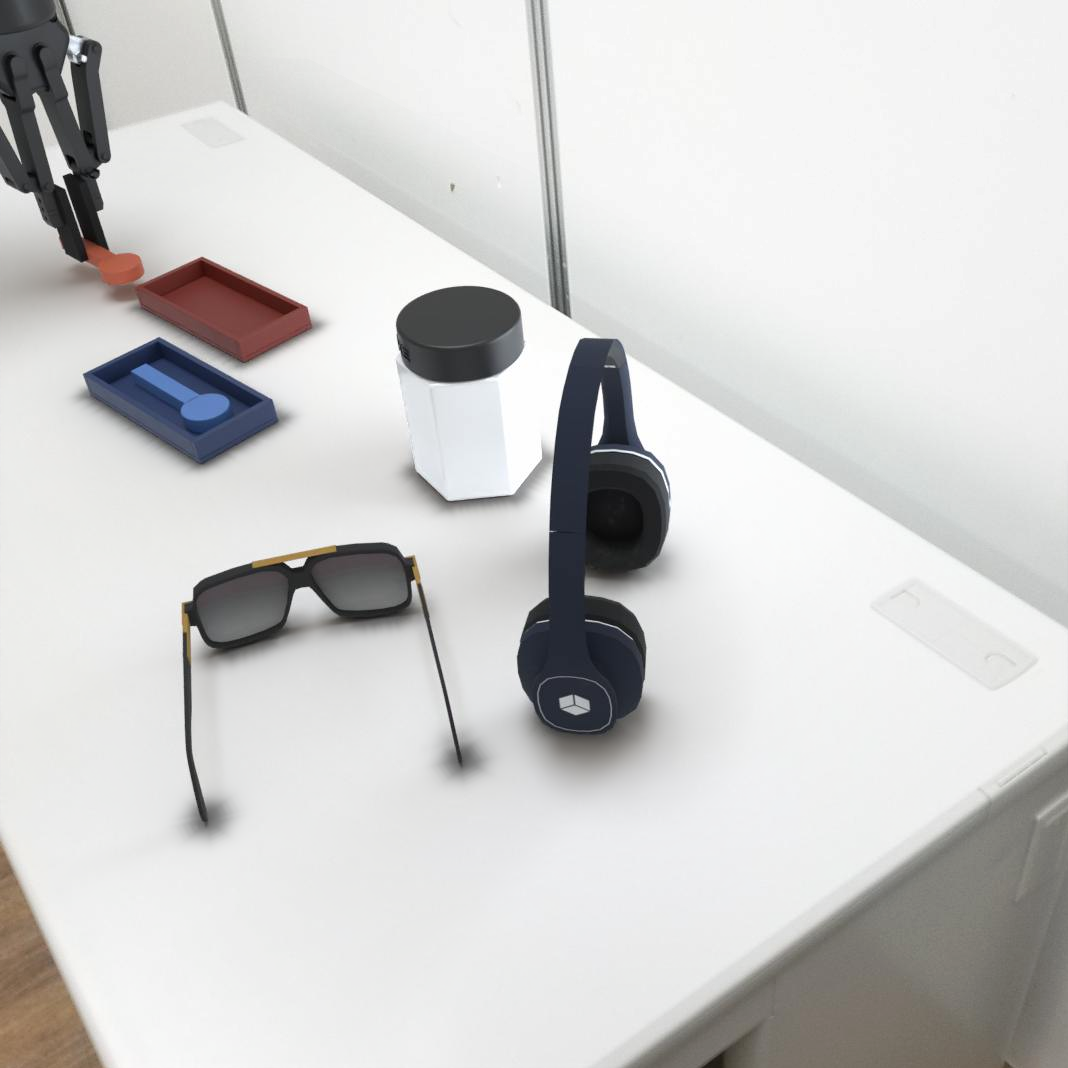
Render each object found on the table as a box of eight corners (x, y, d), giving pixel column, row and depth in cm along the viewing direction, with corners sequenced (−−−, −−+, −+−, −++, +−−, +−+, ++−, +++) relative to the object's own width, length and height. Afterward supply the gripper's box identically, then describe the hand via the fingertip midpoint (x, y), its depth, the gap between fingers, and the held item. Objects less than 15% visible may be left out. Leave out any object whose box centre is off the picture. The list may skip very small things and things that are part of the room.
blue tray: (90, 394, 97) (82, 373, 96) (165, 357, 101) (159, 336, 100) (201, 464, 89) (193, 442, 88) (278, 420, 93) (272, 399, 92)
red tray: (140, 307, 107) (133, 287, 106) (207, 275, 111) (202, 256, 110) (244, 362, 100) (238, 342, 98) (312, 327, 103) (307, 306, 102)
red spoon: (51, 253, 112) (47, 241, 111) (86, 239, 114) (82, 226, 113) (116, 289, 106) (112, 276, 106) (152, 273, 108) (148, 260, 108)
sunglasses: (203, 825, 65) (177, 764, 62) (196, 634, 76) (173, 573, 73) (463, 765, 67) (452, 702, 64) (420, 587, 78) (408, 526, 75)
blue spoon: (122, 390, 97) (118, 376, 96) (162, 370, 99) (157, 357, 98) (202, 439, 91) (198, 425, 90) (243, 417, 93) (239, 404, 92)
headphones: (572, 522, 82) (551, 270, 70) (675, 527, 82) (673, 273, 69) (515, 750, 68) (477, 483, 56) (640, 760, 67) (629, 491, 55)
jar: (459, 420, 92) (437, 273, 84) (557, 443, 89) (545, 292, 81) (396, 489, 86) (366, 338, 78) (500, 515, 83) (480, 361, 75)
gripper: (-77, 2, 89) (36, 296, 105) (99, -47, 97) (179, 234, 113) (-124, -17, 93) (-8, 270, 109) (49, -62, 101) (133, 212, 117)
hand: (87, 251), depth 111 cm, fingers closed on red spoon
